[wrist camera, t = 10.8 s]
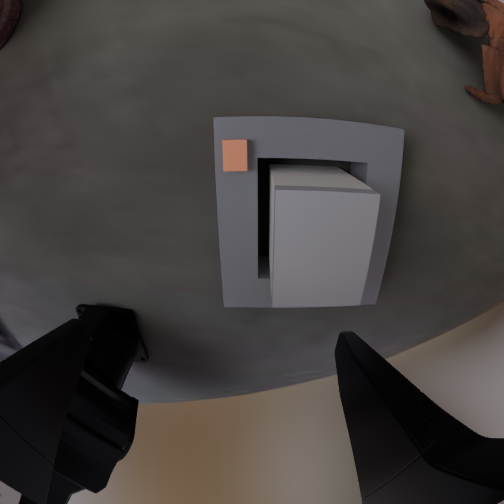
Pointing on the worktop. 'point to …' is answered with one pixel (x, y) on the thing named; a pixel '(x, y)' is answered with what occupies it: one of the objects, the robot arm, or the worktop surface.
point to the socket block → (303, 147)
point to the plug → (319, 235)
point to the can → (8, 18)
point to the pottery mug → (477, 25)
